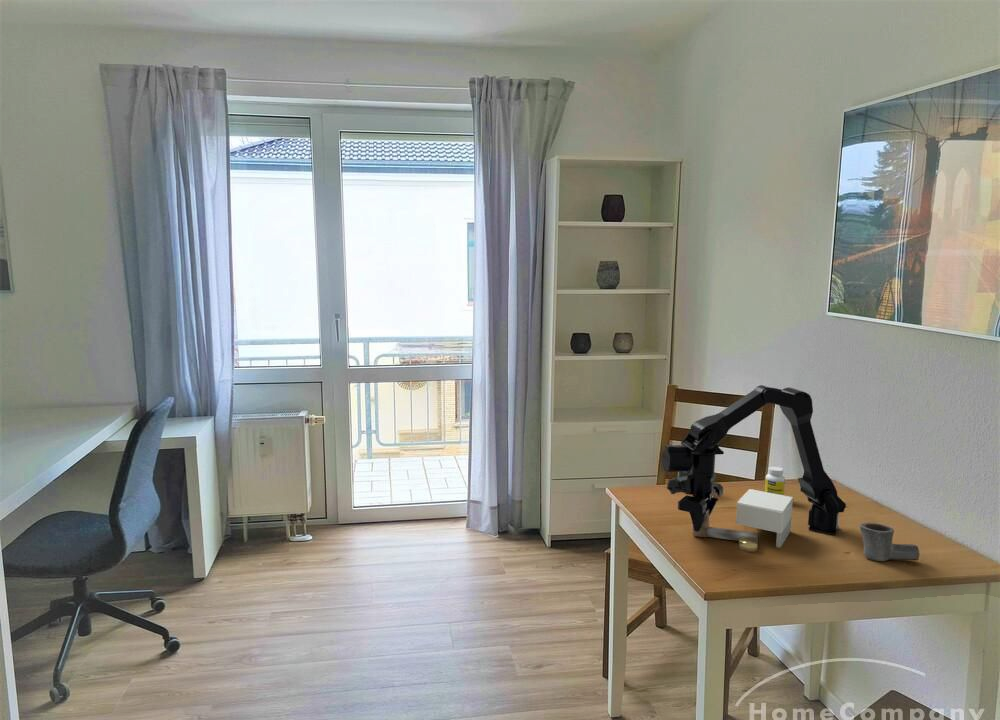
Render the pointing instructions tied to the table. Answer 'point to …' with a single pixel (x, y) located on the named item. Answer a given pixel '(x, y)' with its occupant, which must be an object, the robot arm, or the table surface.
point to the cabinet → (766, 513)
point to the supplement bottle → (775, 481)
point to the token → (748, 544)
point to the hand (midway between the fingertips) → (699, 528)
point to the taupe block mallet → (722, 532)
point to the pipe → (885, 544)
